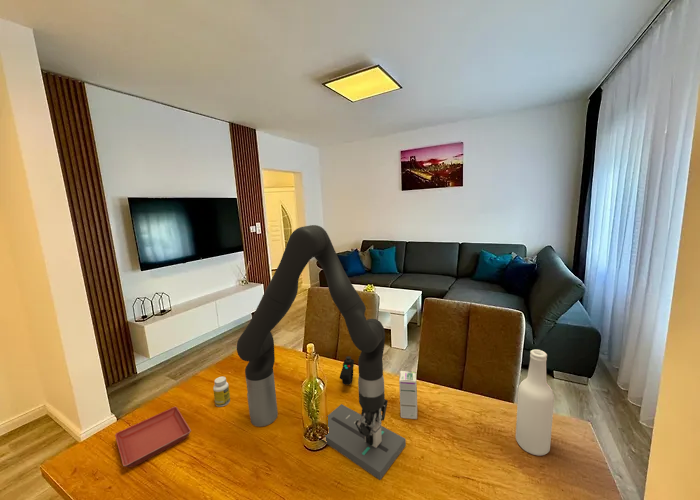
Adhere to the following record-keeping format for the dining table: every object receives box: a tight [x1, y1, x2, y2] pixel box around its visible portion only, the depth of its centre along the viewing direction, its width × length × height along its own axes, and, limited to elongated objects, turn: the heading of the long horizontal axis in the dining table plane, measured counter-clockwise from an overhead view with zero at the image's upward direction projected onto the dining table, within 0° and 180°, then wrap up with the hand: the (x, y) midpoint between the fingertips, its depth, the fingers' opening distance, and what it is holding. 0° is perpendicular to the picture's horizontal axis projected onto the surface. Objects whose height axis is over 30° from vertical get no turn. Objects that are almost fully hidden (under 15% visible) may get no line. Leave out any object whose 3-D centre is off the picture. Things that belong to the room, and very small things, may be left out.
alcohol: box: [515, 348, 555, 457], centre depth 86 cm, size 9×9×30 cm
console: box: [325, 403, 407, 481], centre depth 93 cm, size 26×14×3 cm, turn 50°
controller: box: [339, 355, 355, 386], centre depth 121 cm, size 4×12×10 cm, turn 169°
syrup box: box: [398, 370, 418, 420], centre depth 103 cm, size 6×6×14 cm
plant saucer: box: [114, 406, 192, 468], centre depth 97 cm, size 18×18×3 cm
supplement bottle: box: [212, 376, 231, 408], centre depth 113 cm, size 5×5×10 cm
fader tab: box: [365, 421, 382, 448], centre depth 88 cm, size 4×3×6 cm
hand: (373, 439), depth 89 cm, fingers closed on fader tab, 3 cm apart
